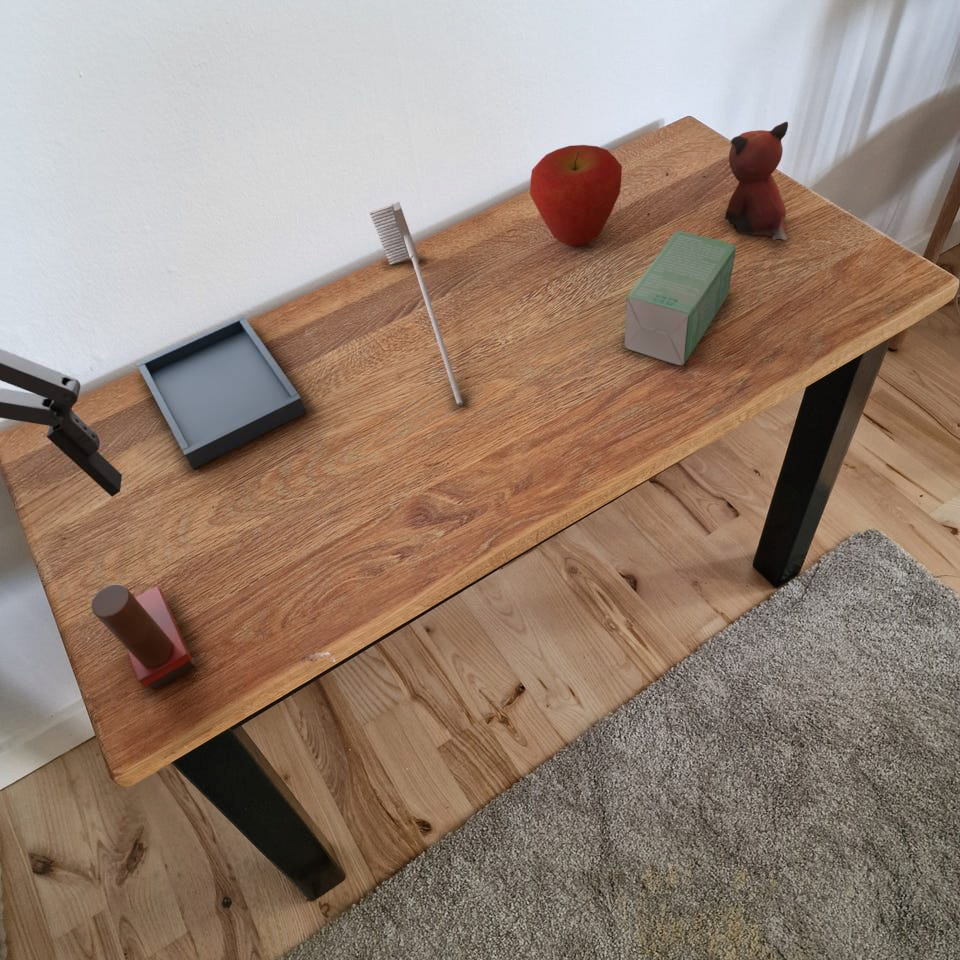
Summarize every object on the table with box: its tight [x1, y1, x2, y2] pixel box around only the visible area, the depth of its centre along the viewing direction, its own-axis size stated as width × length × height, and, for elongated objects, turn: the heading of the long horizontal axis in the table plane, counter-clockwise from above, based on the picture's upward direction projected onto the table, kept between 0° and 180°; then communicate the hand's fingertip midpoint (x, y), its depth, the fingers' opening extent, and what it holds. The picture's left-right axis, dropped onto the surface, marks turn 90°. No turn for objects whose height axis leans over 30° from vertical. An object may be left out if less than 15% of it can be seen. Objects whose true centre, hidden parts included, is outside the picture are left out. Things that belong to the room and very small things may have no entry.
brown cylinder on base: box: [91, 583, 196, 692], centre depth 71 cm, size 8×4×12 cm, turn 32°
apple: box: [529, 144, 623, 248], centre depth 102 cm, size 11×11×12 cm
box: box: [623, 230, 737, 366], centre depth 92 cm, size 7×14×8 cm, turn 149°
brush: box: [369, 201, 464, 407], centre depth 96 cm, size 4×27×9 cm, turn 13°
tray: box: [136, 314, 307, 469], centre depth 94 cm, size 18×14×2 cm
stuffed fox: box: [724, 121, 789, 242], centre depth 99 cm, size 8×11×12 cm
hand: (46, 535), depth 64 cm, fingers open, 13 cm apart
